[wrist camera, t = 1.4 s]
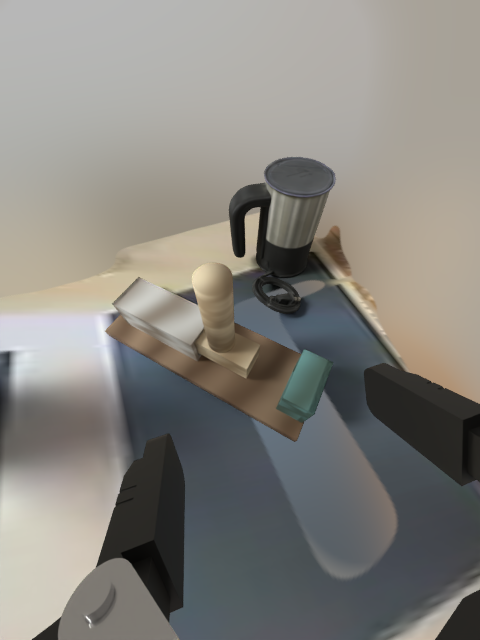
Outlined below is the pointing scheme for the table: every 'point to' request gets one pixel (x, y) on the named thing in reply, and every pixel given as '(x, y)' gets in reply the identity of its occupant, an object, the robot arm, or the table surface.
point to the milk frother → (282, 223)
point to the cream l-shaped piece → (221, 321)
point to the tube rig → (242, 393)
